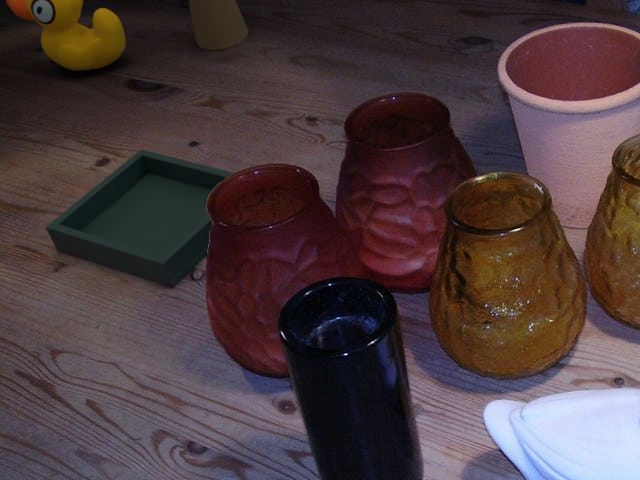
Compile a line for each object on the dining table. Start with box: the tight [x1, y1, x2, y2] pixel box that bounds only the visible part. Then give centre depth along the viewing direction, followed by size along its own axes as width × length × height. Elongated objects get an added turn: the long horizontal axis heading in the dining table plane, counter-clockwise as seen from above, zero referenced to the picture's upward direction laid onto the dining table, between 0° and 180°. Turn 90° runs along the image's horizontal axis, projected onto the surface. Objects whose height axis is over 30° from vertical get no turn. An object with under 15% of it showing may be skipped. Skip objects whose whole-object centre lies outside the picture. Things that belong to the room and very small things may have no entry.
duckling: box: [5, 0, 127, 72], centre depth 109 cm, size 11×5×10 cm, turn 86°
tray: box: [45, 148, 234, 288], centre depth 89 cm, size 14×13×3 cm
